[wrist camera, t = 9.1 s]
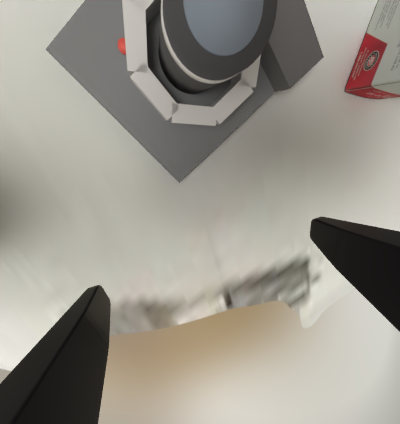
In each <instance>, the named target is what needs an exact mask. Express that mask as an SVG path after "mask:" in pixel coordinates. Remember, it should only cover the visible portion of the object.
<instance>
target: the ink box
mask: <svg viewBox="0 0 400 424" xmlns="http://www.w3.org/2000/svg"><path fill="white" fill-rule="evenodd" d="M345 92H347V93H351V94H354V95H358V96H361V97H366V98H372V99H384V98H393V97H400V0H378V3H377V5H376V8H375V11H374V13H373V16H372V19H371V21H370V24H369V27H368V29H367V32H366V34H365V37H364V40H363V43H362V45H361V48H360V51H359V53H358V56H357V59H356V61H355V64H354V66H353V69H352V72H351V74H350V77H349V80H348V83H347V85H346V88H345Z"/></svg>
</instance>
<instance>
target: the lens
mask: <svg viewBox="0 0 400 424" xmlns="http://www.w3.org/2000/svg"><path fill="white" fill-rule="evenodd" d="M276 12H277V0H161V24H160V35H159V48H158V53H159V61H160V65H161V68H162V71H163V73H164V75H165V77H166V78H167V80H168V81H169V82H170V83H171V84H172V85H173V86H174V87H175V88H176V89H178V90H179V91H181V92H184V93H187V94H198V93H202V92H204V91H206V90H208V89H210V88H211V87H213V86H215V85H217V84H219V83H221V82H224V81H227V80H229V79H231V78H233V77H234V76H236V75H237V74H239V73H240V72H242V71H243V70H245V69H246V68H248V67H249V66H250V65H251V64H253V63H254V62H255V61H256V59H257V58H258V57H259V56H260V54H261V53H262V52H263V50H264V48H265V47H266V45H267V43H268V41H269V38H270V36H271V33H272V30H273V27H274V23H275V18H276Z"/></svg>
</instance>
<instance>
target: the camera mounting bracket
mask: <svg viewBox="0 0 400 424" xmlns="http://www.w3.org/2000/svg"><path fill="white" fill-rule="evenodd" d="M160 24H161V0H85V1H84V3H83V4H82V5H81V6H80V8H79V9H78V10H77V11H76V12H75V14H74V15H73V16H72V17H71V19H70V20H69V21H68V22H67V24H66V25H65V26H64V27H63V29H62V30H61V31H60V32H59V34H58V35H57V36H56V37H55V38H54V40H53V41H52V42H51V43H50V45H49V46H48V47H47V48H46V50H47V51H48V52H49V53H50V54H51V55H52V56H53V57H54V58H55V59H56V60H57V61H58V62H59V63H60V64H61V65H62V66H63V67H64V68H65V69H66V70H67V71H68V72H69V73H70V74H71V75H72V76H73V77H74V78H75V79H76V80H77V81H78V82H79V83H80V84H81V85H82V86H83V87H84V88H85V89H86V90H87V91H88V92H89V93H90V94H91V95H92V96H93V97H94V98H95V99H96V100H97V101H98V102H99V103H100V104H101V105H102V106H103V107H104V108H105V109H106V110H107V111H108V112H109V113H110V114H111V115H112V116H113V117H114V118H115V119H116V120H117V121H118V122H119V123H120V124H121V125H122V126H123V127H124V128H125V129H126V130H127V131H128V132H129V133H130V134H131V135H132V136H133V137H134V138H135V139H136V140H137V141H138V142H139V143H140V144H141V145H142V146H143V147H144V148H145V149H146V150H147V151H148V152H149V153H150V154H151V155H152V156H153V157H154V158H155V159H156V160H157V161H158V162H159V163H160V164H161V165H162V166H163V167H164V168H165V169H166V170H167V171H168V172H169V173H170V174H171V175H172V176H173V177H174V178H175V179H176V180H177V181H178V182H179V183H180V182H181V181H182V180H183V179H184V178H185V177H186V176H187V175H188V174H189V173H190V172H191V171H192V170H193V169H194V168H195V167H196V166H197V165H199V164H200V163H201V162H202V161H203V160H204V159H205V158H206V157H207V156H208V155H209V154H210V153H211V152H212V151H213V150H214V149H215V148H216V147H217V146H218V145H220V144H221V143H222V142H223V141H224V140H225V139H226V138H227V137H228V136H229V135H230V134H231V133H232V132H233V131H234V130H235V129H236V128H237V127H238V126H239V125H241V124H242V123H243V122H244V121H245V120H246V119H247V118H248V117H249V116H250V115H251V114H252V113H253V112H254V111H255V110H256V109H257V108H258V107H259V106H260V105H262V104H263V103H264V102H265V101H266V100H267V99H268V98H269V97H270V96H271V95H272V94H273V93H274V92H276V91H281V90H285V89H289V88H291V87H292V86H293V85H294V84H295V83H296V82H297V81H299V80H300V79H301V78H302V77H303V76H304V75H305V74H306V73H307V72H308V71H309V70H310V69H311V68H312V67H313V66H314V65H316V64H317V63H318V62H319V61H320V60H321V59H322V58H323V54H322V51H321V48H320V45H319V42H318V40H317V37H316V34H315V31H314V28H313V25H312V22H311V19H310V16H309V14H308V11H307V8H306V5H305V2H304V0H277V12H276V18H275V23H274V27H273V30H272V33H271V36H270V38H269V41H268V43H267V45H266V47H265V48H264V50H263V52H262V53H261V54H260V56H259V57H258V58H257V59H256V61H255V62H254V63H253V64H251V65H250V66H249V67H248V68H246V69H245V70H243V71H242V72H240V73H239V74H237V75H236V76H234V77H233V78H231V79H229V80H227V81H224V82H221V83H219V84H217V85H215V86H213V87H211V88H210V89H208V90H206V91H204V92H202V93H198V94H187V93H184V92H181V91H179V90H178V89H176V88H175V87H174V86H173V85H172V84H171V83H170V82H169V81H168V80H167V78H166V77H165V75H164V73H163V71H162V68H161V65H160V61H159V53H158V48H159V35H160Z"/></svg>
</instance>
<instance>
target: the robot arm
mask: <svg viewBox="0 0 400 424" xmlns="http://www.w3.org/2000/svg"><path fill="white" fill-rule="evenodd" d="M310 237H311V239H312V241H313V242H314V243H315V244H316V246H317V247H318V248H319V249H320V250H321V252H322V253H323V254H324V255H325V256H326V258H327V259H328V260H329V261H330V262H331V263H332V265H333V266H334V267H335V268H336V269H337V270H338V271H339V272H340V273H341V274H342V275H343V276H344V277H345V278H346V279H347V280H348V281H349V282H350V283H351V284H352V285H353V286H354V287H355V288H356V289H357V290H358V291H359V292H360V293H361V294H362V295H363V296H364V297H365V298H366V299H367V300H368V301H369V302H370V303H371V304H372V305H373V306H374V307H375V308H376V309H377V310H378V311H379V312H380V313H381V314H382V315H383V316H385V317H386V319H387V320H388V321H389V322H390V323H391V324H393V326H394V327H395V328H396V329H398V330H399V331H400V232H399V231H394V230H389V229H384V228H378V227H373V226H368V225H363V224H358V223H352V222H347V221H342V220H337V219H332V218H326V217H319V218H315V219H313V220H312V221H311V229H310ZM110 306H111V305H110V299H109V297H108V296H107V294H106V293H105V291H104V289H103V288H102V286H100V285H97V286H93V287H90V288H88V289H87V290H86V291H85V292H84V293H83V294H82V295H81V296H80V297H79V299H78V300H77V301H76V302H75V303H74V304H73V305H72V306H71V307H70V308H69V309H68V311H67V312H66V313H65V314H64V315H63V316H62V317H61V318H60V319H59V320H58V321H57V323H56V324H55V325H54V326H53V327H52V328H51V329H50V330H49V331H48V332H47V333H46V335H45V336H44V337H43V338H42V339H41V340H40V341H39V342H38V343H37V344H36V345H35V347H34V348H33V349H32V350H31V351H30V352H29V353H28V354H27V355H26V356H25V357H24V358H23V360H22V361H21V362H20V363H19V364H18V365H17V366H16V367H15V368H14V369H13V370H12V372H11V373H10V374H9V375H8V376H7V377H6V378H5V379H4V380H3V381H2V382H1V384H0V424H98V418H99V411H100V405H101V398H102V391H103V384H104V377H105V370H106V363H107V356H108V349H109V332H110Z"/></svg>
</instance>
